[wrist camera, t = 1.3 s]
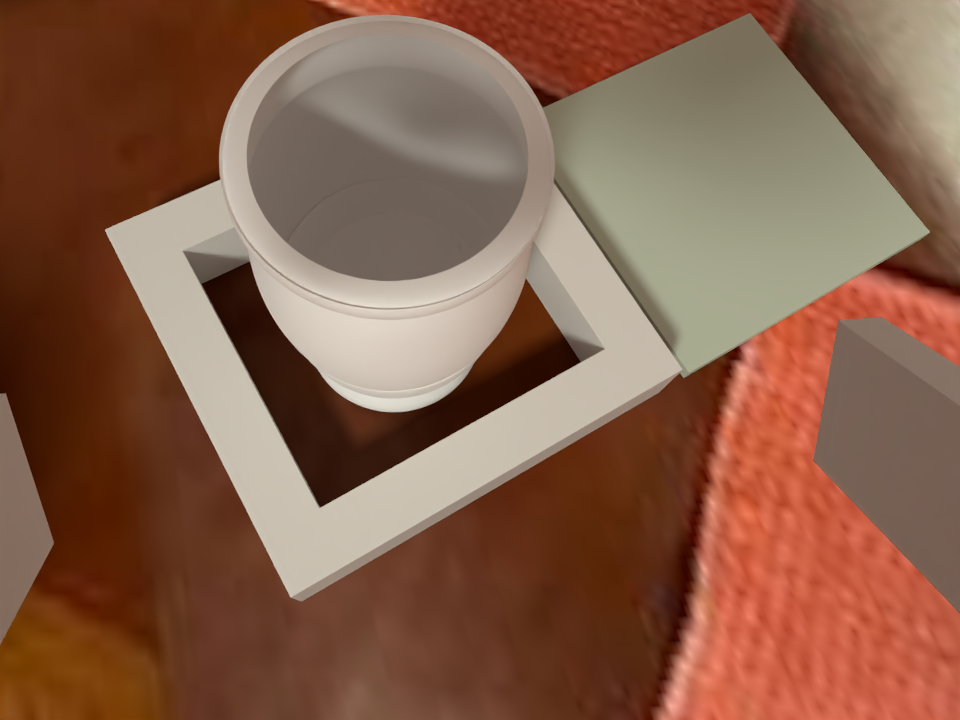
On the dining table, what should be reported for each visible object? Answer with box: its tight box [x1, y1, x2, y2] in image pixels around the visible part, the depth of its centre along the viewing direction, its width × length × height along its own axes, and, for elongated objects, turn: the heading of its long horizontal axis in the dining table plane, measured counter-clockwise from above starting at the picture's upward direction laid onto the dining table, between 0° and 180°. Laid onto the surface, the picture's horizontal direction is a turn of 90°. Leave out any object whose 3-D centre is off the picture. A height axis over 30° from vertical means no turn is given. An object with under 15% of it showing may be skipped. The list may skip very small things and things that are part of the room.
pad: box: [542, 13, 930, 378], centre depth 42 cm, size 16×16×1 cm
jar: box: [219, 15, 555, 412], centre depth 31 cm, size 11×10×15 cm
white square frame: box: [105, 180, 683, 601], centre depth 37 cm, size 18×19×4 cm
